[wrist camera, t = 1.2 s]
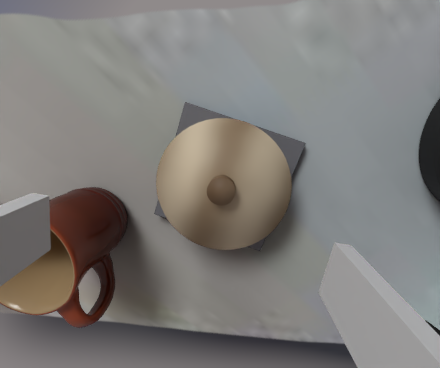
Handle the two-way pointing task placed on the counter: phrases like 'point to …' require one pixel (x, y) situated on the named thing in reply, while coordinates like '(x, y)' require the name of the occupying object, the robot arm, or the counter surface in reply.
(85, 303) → the counter surface
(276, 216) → the lid
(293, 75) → the counter surface
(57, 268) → the mug
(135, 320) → the counter surface
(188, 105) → the mat
